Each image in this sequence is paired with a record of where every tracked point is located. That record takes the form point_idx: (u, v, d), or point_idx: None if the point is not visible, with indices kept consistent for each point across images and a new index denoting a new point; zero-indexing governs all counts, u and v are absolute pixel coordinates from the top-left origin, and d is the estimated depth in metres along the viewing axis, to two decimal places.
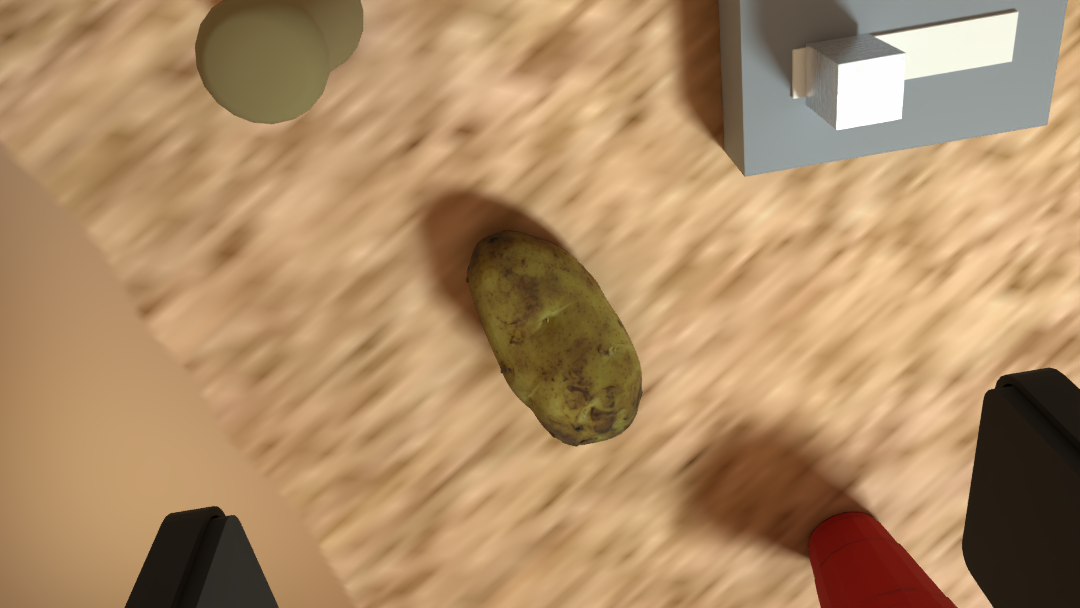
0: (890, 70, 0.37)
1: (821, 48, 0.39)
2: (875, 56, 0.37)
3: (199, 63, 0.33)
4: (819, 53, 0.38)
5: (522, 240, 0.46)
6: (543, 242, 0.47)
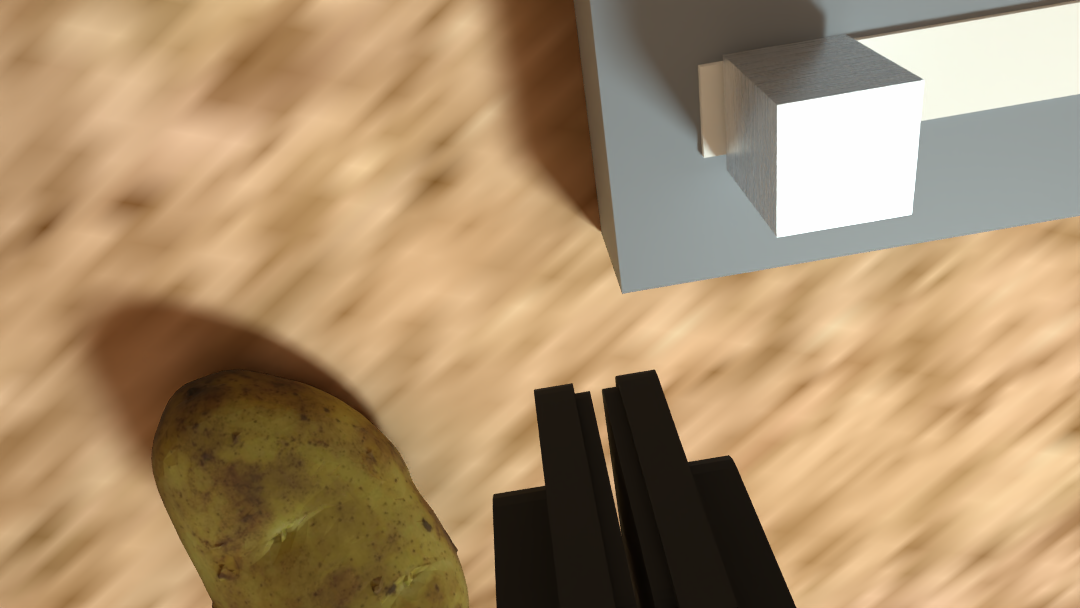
0: (891, 116, 0.17)
1: (750, 64, 0.19)
2: (857, 87, 0.17)
3: None
4: (744, 77, 0.19)
5: (242, 393, 0.26)
6: (288, 392, 0.27)
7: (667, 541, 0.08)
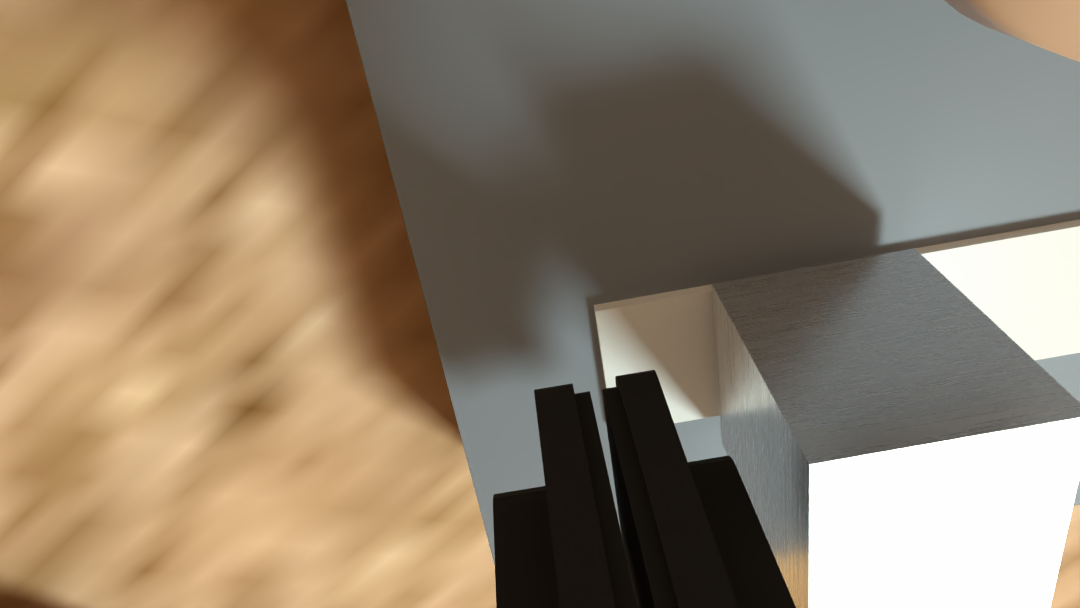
0: (1026, 472, 0.09)
1: (756, 320, 0.11)
2: (962, 421, 0.09)
3: None
4: (747, 353, 0.11)
5: None
6: None
7: (667, 541, 0.08)
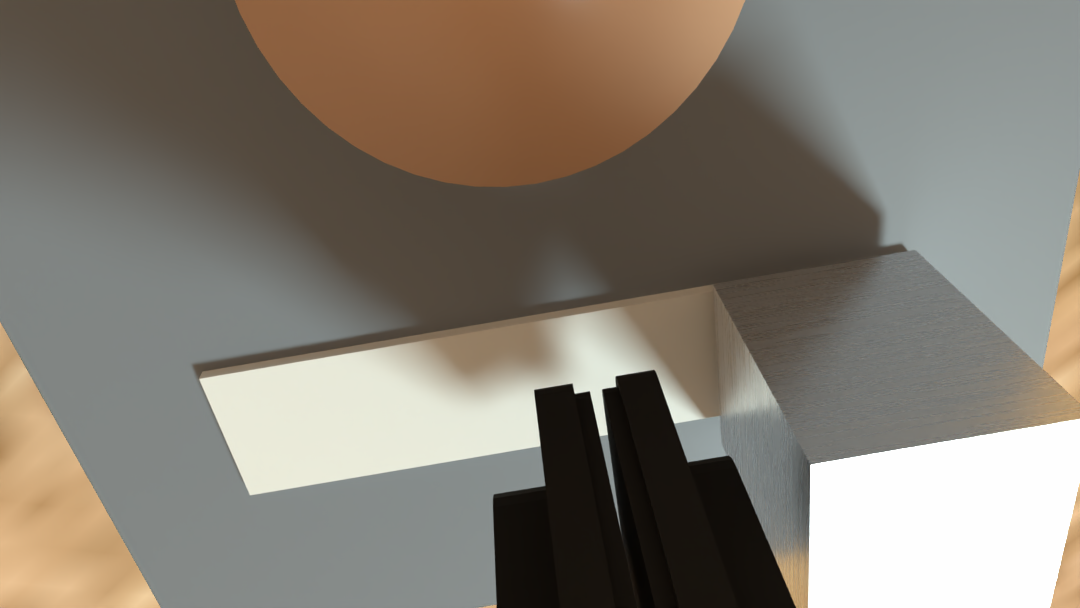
0: (1025, 474, 0.09)
1: (757, 320, 0.11)
2: (963, 422, 0.09)
3: None
4: (749, 353, 0.11)
5: None
6: None
7: (667, 541, 0.08)
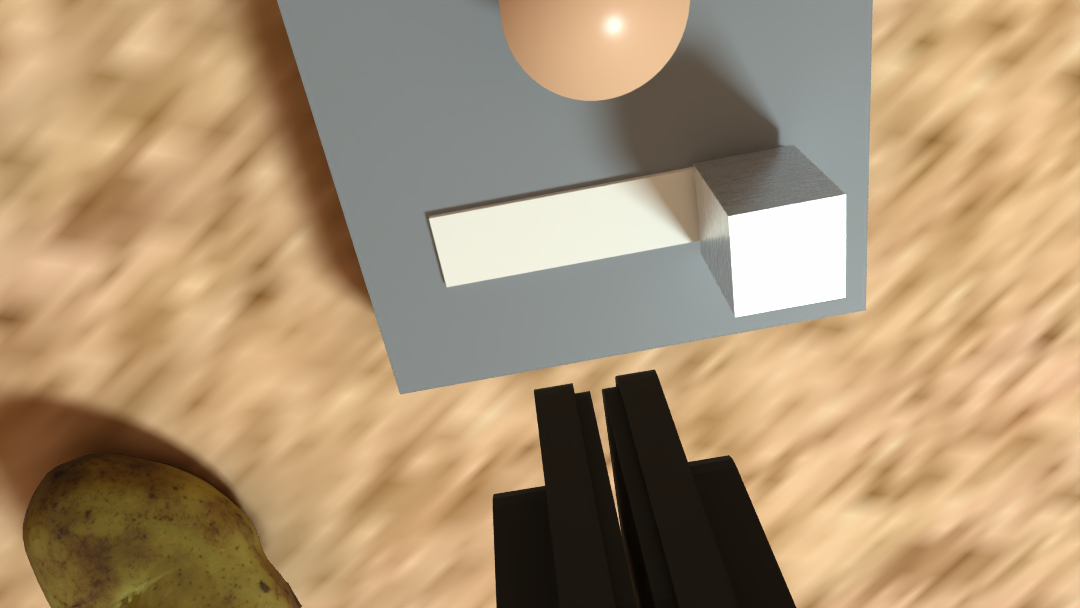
0: (821, 222, 0.21)
1: (713, 174, 0.24)
2: (793, 199, 0.21)
3: None
4: (707, 186, 0.23)
5: (98, 476, 0.31)
6: (142, 473, 0.32)
7: (667, 541, 0.08)
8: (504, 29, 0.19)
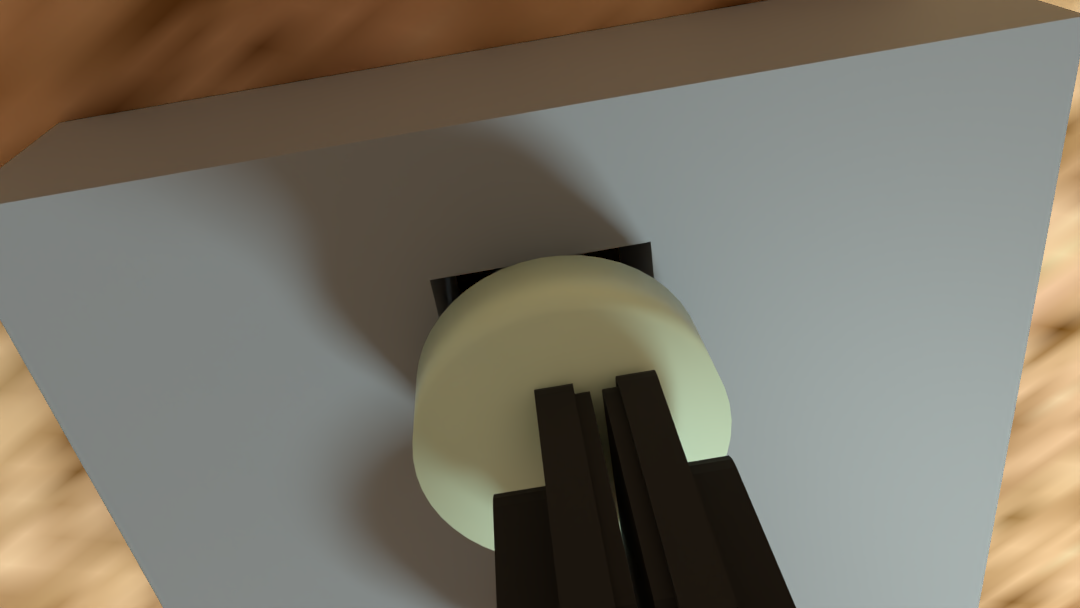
0: None
1: None
2: None
3: None
4: None
5: None
6: None
7: (667, 541, 0.08)
8: None
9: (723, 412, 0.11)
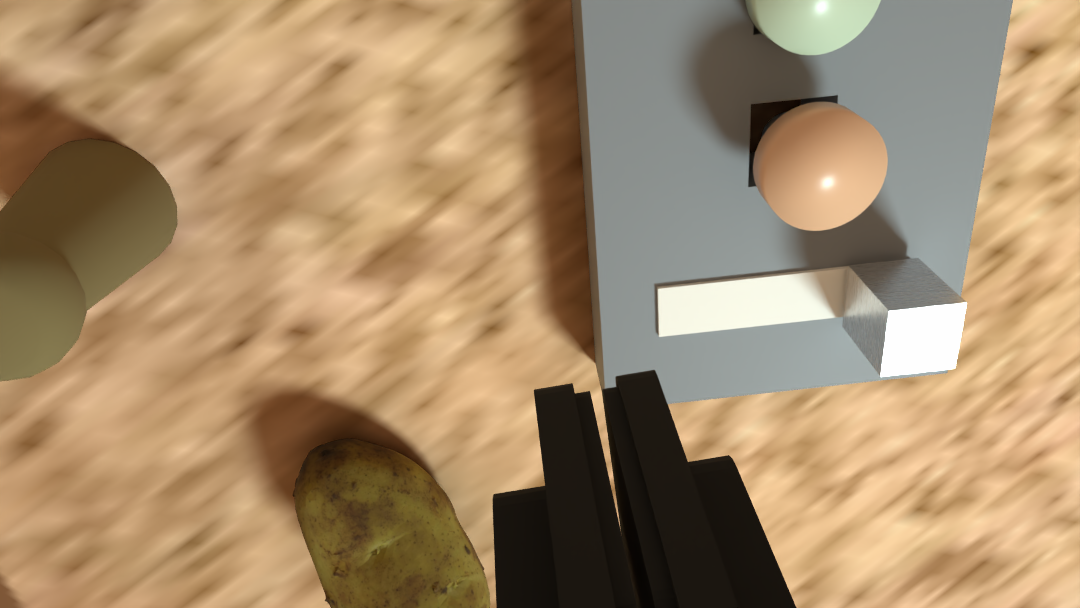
0: (947, 319, 0.32)
1: (866, 276, 0.34)
2: (931, 303, 0.32)
3: None
4: (865, 285, 0.34)
5: (357, 456, 0.41)
6: (384, 456, 0.42)
7: (667, 541, 0.08)
8: (766, 183, 0.30)
9: None
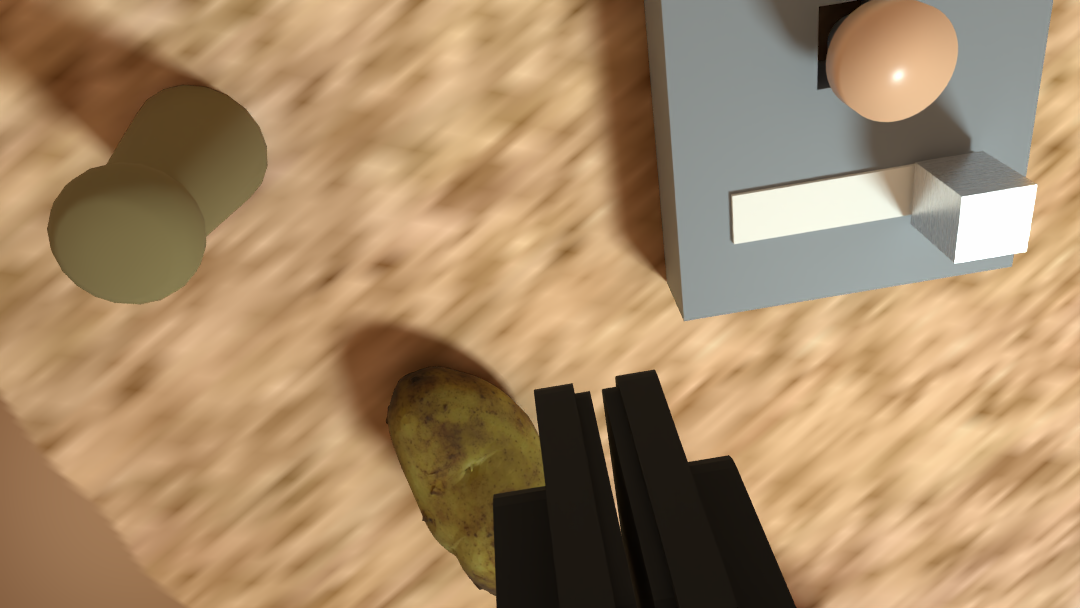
0: (1019, 202, 0.33)
1: (935, 170, 0.36)
2: (1002, 187, 0.33)
3: (51, 247, 0.29)
4: (934, 178, 0.35)
5: (445, 380, 0.43)
6: (470, 380, 0.43)
7: (667, 541, 0.08)
8: (841, 77, 0.31)
9: None
